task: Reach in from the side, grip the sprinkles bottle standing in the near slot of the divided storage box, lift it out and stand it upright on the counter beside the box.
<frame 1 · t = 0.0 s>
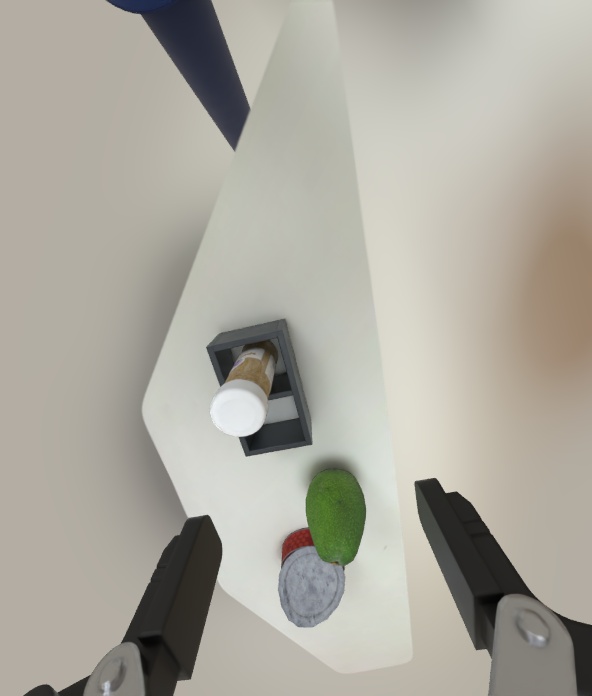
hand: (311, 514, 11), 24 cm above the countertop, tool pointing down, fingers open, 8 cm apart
sprinkles bottle: (260, 354, 35), resting in divided storage box
canned food: (311, 547, 46), on the countertop
avocado: (331, 476, 41), on the countertop
divided storage box: (267, 379, 36), on the countertop
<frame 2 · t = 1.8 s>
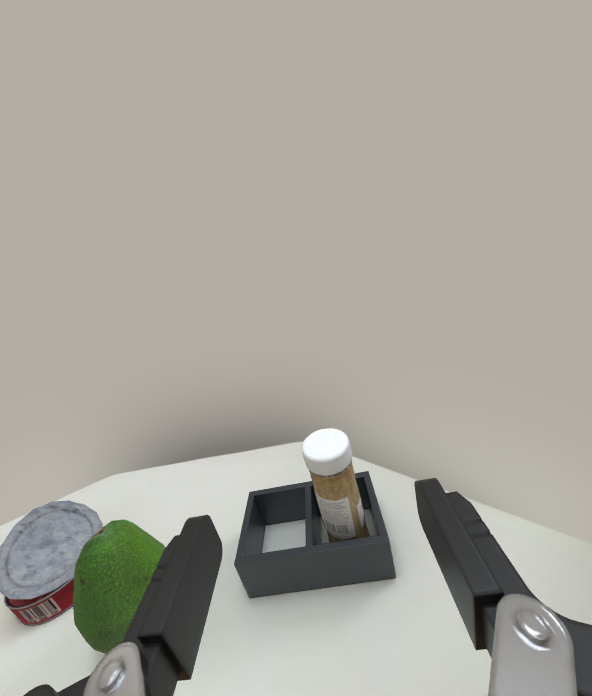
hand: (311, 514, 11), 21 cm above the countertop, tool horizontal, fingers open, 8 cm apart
sprinkles bottle: (349, 541, 31), resting in divided storage box
canned food: (71, 576, 35), on the countertop
avocado: (150, 623, 28), on the countertop
divided storage box: (318, 545, 31), on the countertop
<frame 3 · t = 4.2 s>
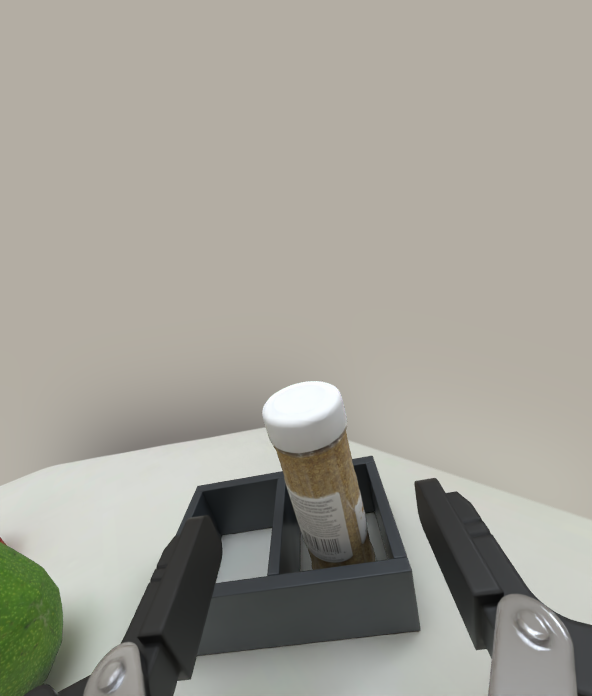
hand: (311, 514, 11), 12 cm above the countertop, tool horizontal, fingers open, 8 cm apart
sprinkles bottle: (343, 563, 20), resting in divided storage box
divided storage box: (295, 568, 20), on the countertop
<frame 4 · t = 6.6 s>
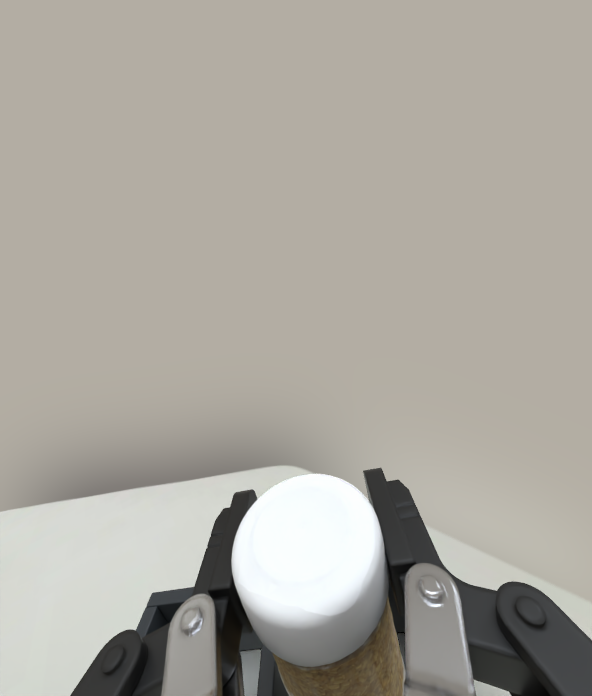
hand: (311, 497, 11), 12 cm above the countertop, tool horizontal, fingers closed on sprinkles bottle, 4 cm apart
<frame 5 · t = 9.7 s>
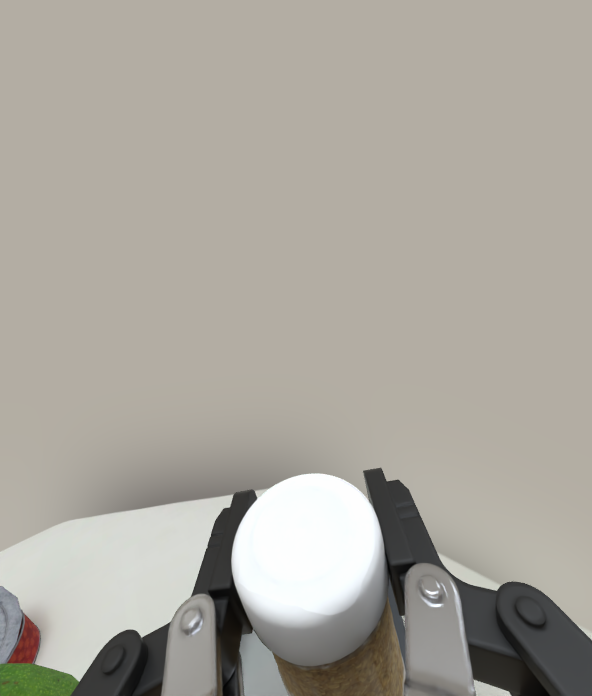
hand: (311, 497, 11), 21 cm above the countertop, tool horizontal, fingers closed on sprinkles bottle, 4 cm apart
divided storage box: (314, 670, 22), on the countertop
when the fingers open (12 cm above the countertop, at t = 13.0 s): sprinkles bottle stays where it is, on the countertop.
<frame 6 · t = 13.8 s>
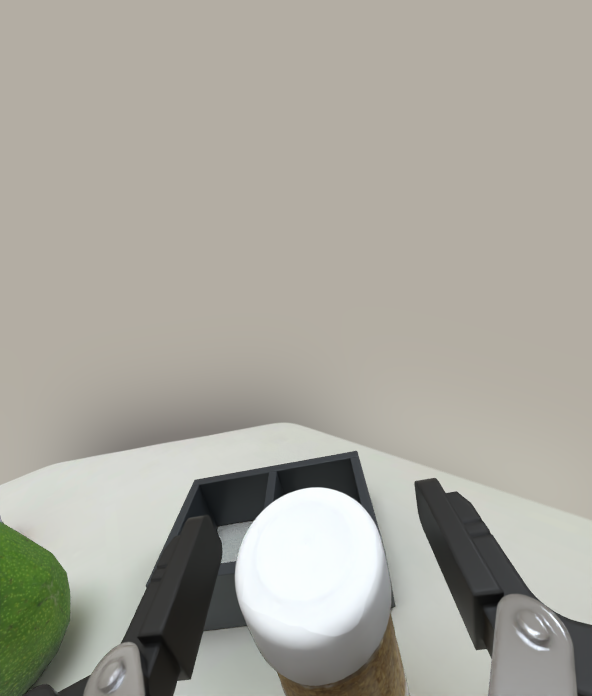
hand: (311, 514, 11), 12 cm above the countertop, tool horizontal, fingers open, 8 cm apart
avocado: (28, 670, 19), on the countertop
divided storage box: (284, 554, 22), on the countertop
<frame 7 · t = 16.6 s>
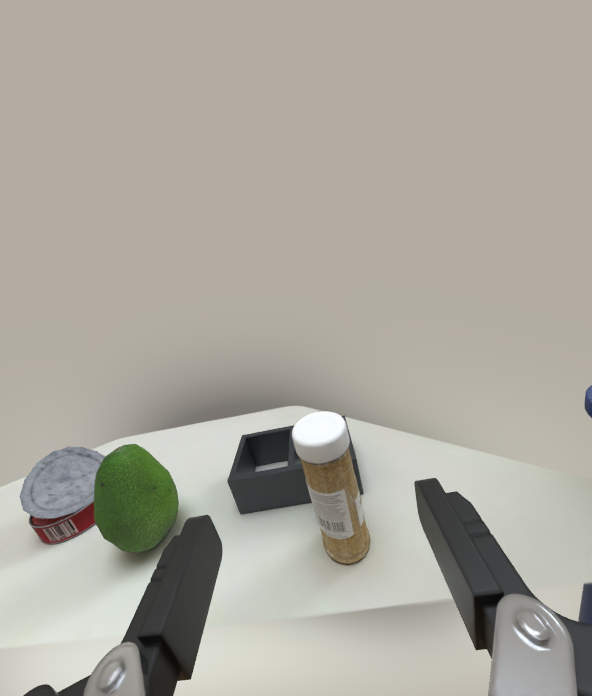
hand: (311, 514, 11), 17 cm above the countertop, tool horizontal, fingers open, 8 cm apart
sprinkles bottle: (346, 542, 27), on the countertop
canned food: (85, 510, 40), on the countertop
avocado: (156, 536, 33), on the countertop
divided storage box: (300, 476, 36), on the countertop
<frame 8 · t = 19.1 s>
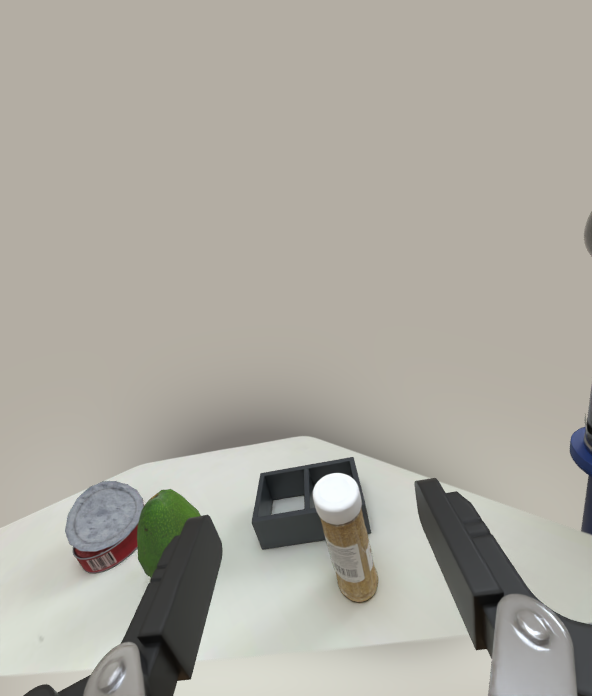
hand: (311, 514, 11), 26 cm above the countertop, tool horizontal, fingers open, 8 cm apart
sprinkles bottle: (357, 580, 31), on the countertop
canned food: (119, 539, 44), on the countertop
avocado: (187, 568, 37), on the countertop
divided storage box: (314, 513, 40), on the countertop
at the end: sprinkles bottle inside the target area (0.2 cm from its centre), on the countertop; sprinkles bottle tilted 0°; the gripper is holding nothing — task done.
